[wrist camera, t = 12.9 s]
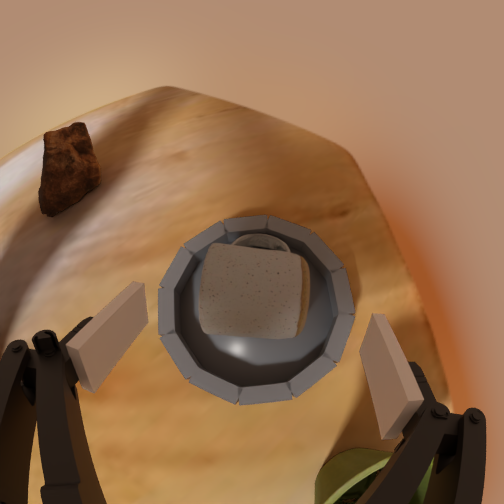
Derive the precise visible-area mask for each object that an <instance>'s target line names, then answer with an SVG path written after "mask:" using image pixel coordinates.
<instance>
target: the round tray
mask: <svg viewBox="0 0 504 504" xmlns="http://www.w3.org/2000/svg"><path fill="white" fill-rule="evenodd" d="M254 233H260V234H267V235H271V236H274V237H277V238H279V239H280V240H282V241H283V242H285V243H286V244H287V246H288V247H289V249H290V252H291V253H293V254H297V255H299V256H302V257H303V258H304V259H305V260H306V262H307V263H308V267H309V273H310V296H309V307H308V313H307V318H306V322H305V326H304V328H303V330H302V332H301V333H300V334H299V335H298V336H296V337H293V338H286V339H265V338H253V337H236V336H225V335H212V334H206V333H204V332H203V330H202V328H201V325H200V320H199V292H200V284H201V276H202V270H203V265H204V260H205V257H206V254H207V252H208V249H209V247H210V246H211V245H212V244H213V243H221V244H229V245H231V244H232V243H233V242H234V241H235V240H236V239H238V238H239V237H241V236H244V235H247V234H254ZM310 233H311V230H310V229H307V228H305V227H302V226H299V225H297V224H294V223H291V222H288V221H286V220H283V219H280V218H277V217H275V216H272V215H270V217H269V219H267V215H258V216H249V217H240V218H231V219H224V225H223V223H222V222H221V221H219V222H217V223H215V224H214V225H212V226H211V227H209V228H208V229H206V230H204V231H203V232H201V233H200V234H198V235H197V236H195V237H194V238H192V239H190V240H189V241H187V242H186V243H184V246H185V248H183V247H180V249H179V251H178V253H177V254H176V256H175V258H174V260H173V261H172V263H171V265H170V267H169V268H168V270H167V272H166V274H165V275H164V277H163V279H162V281H161V283H160V284H159V285H160V286H161V287H162V288H159V289H158V331H159V335H161V336H162V337H160V340H161V341H162V343H163V345H164V346H165V348H166V350H167V351H168V353H169V354H170V356H171V358H172V359H173V361H174V362H175V364H176V366H177V367H178V369H179V370H180V372H181V373H182V375H183V376H184V378H185V379H190V380H189V383H191V384H193V385H195V386H197V387H199V388H201V389H203V390H205V391H207V392H209V393H211V394H213V395H215V396H217V397H220V398H222V399H224V400H226V401H228V402H230V403H233V404H236V403H237V402H238V401H239V405H249V404H260V403H269V402H277V401H285V400H292V395H293V396H294V397H296V398H297V397H298V396H299V395H301V394H302V393H303V392H305V391H306V390H307V389H309V388H310V387H311V386H312V385H314V384H315V383H316V382H317V381H319V380H320V379H321V378H322V377H324V376H325V375H326V374H327V373H329V372H330V371H331V370H332V369H333V368H335V367H336V366H337V365H336V364H335V363H338V362H339V361H340V359H341V356H342V353H343V351H344V348H345V345H346V342H347V339H348V337H349V334H350V331H351V328H352V325H353V322H354V319H355V316H353V314H354V313H355V308H354V303H353V298H352V294H351V289H350V285H349V280H348V276H347V271H346V268H342V267H343V265H344V264H343V263H342V262H341V261H340V260H339V259H338V257H337V256H336V255H335V254H334V253H333V252H332V251H331V250H330V249H329V247H328V246H327V245H326V244H325V243H324V242H323V241H322V240H321V239H320V238H319V236H318V235H317V234H316V233H315V232H314V233H312V234H311V235H310ZM251 248H257V249H265V250H271V249H269V248H262V247H256V246H251Z"/></svg>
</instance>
